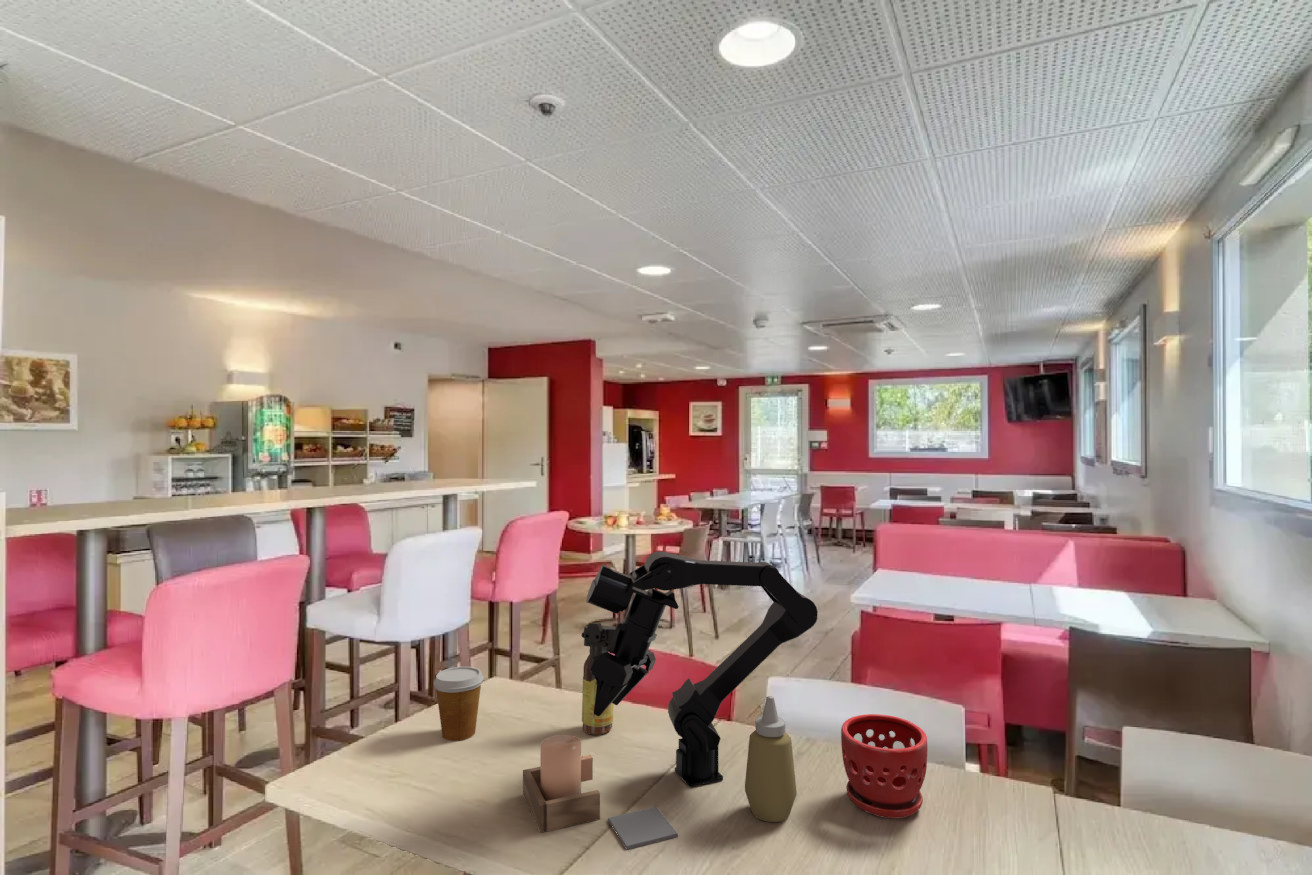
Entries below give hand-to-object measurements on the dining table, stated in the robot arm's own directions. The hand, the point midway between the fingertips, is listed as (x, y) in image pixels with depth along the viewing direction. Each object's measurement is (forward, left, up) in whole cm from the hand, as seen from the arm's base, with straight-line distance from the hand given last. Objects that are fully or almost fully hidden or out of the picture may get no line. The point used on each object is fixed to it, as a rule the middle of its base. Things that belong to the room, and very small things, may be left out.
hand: (605, 709), depth 116 cm
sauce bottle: (-6, -21, -13) cm, 25 cm away
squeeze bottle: (-21, +19, -13) cm, 31 cm away
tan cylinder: (+9, +4, -13) cm, 16 cm away
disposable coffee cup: (+20, -30, -13) cm, 38 cm away
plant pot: (-39, +24, -13) cm, 47 cm away
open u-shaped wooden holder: (+9, +4, -13) cm, 16 cm away
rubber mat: (-1, +15, -13) cm, 20 cm away
